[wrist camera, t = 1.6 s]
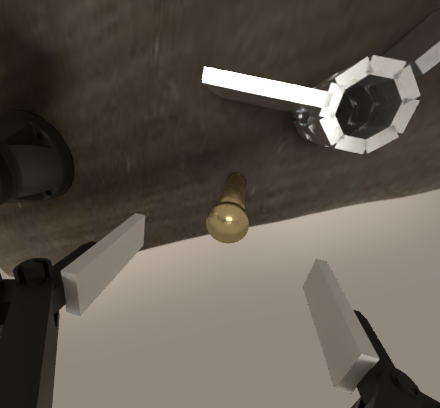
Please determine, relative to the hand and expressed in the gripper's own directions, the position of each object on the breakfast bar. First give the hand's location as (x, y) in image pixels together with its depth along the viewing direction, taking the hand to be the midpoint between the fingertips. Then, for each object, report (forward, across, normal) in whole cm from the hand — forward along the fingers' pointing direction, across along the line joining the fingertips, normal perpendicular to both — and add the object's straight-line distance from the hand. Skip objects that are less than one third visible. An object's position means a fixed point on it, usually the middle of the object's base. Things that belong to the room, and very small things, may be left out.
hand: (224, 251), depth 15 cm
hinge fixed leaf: (+19, +3, +12) cm, 23 cm away
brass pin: (+19, 0, 0) cm, 19 cm away
